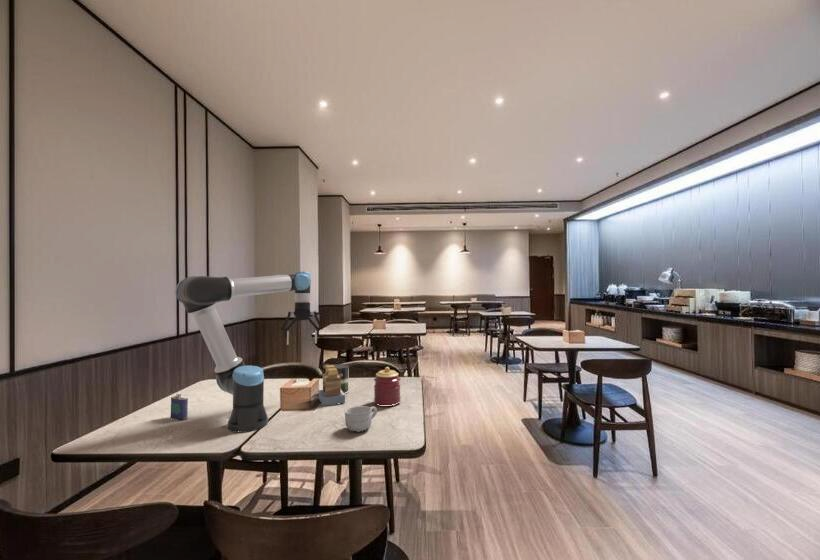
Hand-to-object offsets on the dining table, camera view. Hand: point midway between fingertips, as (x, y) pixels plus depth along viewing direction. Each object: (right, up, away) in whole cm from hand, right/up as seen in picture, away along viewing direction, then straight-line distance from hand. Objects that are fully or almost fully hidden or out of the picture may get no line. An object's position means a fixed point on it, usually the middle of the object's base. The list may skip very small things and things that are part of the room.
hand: (301, 343), depth 182 cm
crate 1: (+14, -16, +2) cm, 21 cm away
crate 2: (+17, -16, -5) cm, 23 cm away
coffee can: (+16, -29, +13) cm, 36 cm away
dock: (+15, -28, -2) cm, 32 cm away
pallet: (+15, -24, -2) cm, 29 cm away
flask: (-46, -28, -25) cm, 60 cm away
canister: (+44, -28, -6) cm, 52 cm away
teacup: (+36, -28, -38) cm, 59 cm away
